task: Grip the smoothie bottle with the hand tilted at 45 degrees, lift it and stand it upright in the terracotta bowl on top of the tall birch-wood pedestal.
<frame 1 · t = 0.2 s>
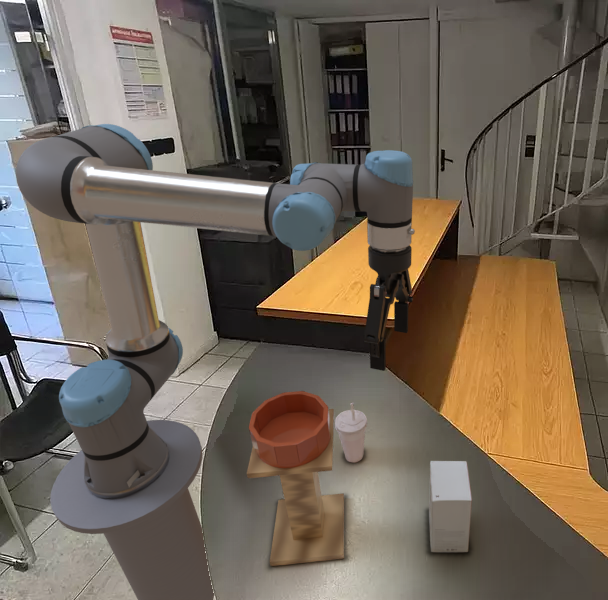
hand: (390, 348, 93), 23 cm above the table, tool pointing down, fingers open, 13 cm apart
pedestal: (309, 529, 85), on the table
smoothie: (354, 456, 99), on the table
small box: (447, 531, 84), on the table
bowl: (293, 438, 74), resting on pedestal
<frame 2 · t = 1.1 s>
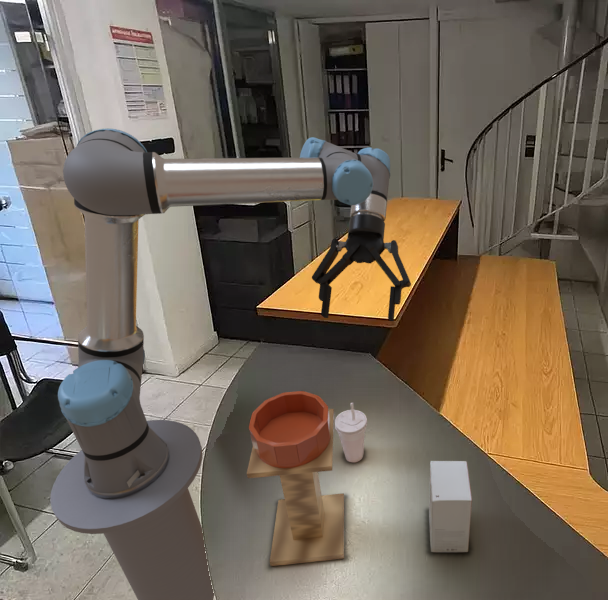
hand: (357, 318, 97), 26 cm above the table, tool tilted 45°, fingers open, 13 cm apart
nothing on the table moved.
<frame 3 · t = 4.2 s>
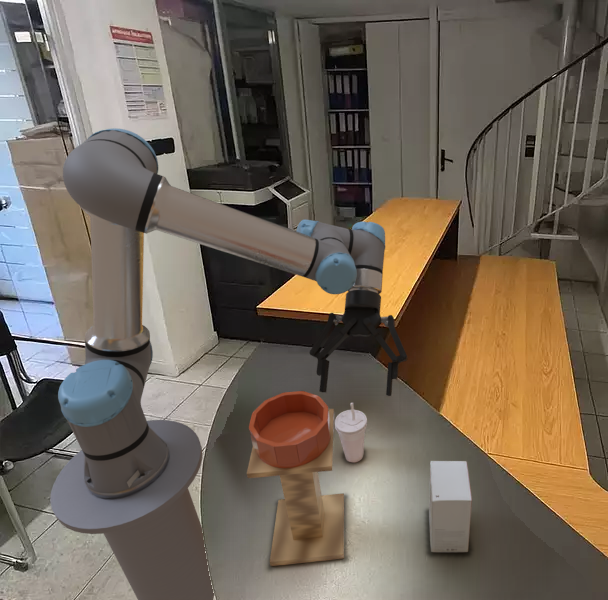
hand: (355, 394, 98), 12 cm above the table, tool tilted 45°, fingers open, 13 cm apart
nothing on the table moved.
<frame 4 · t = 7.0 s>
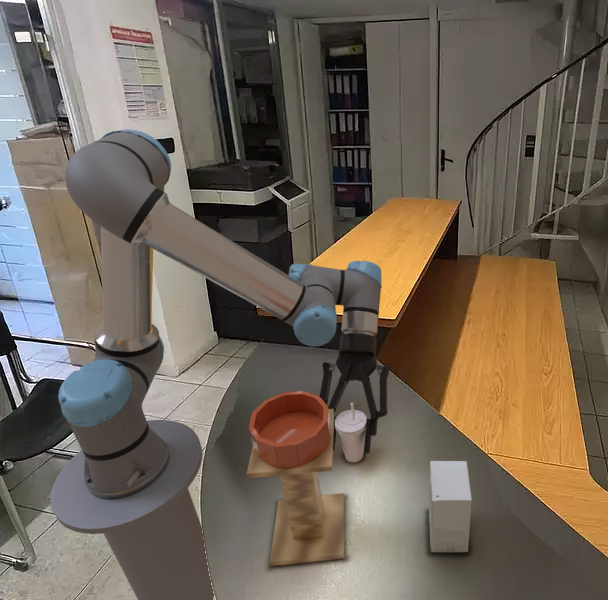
hand: (348, 452, 94), 5 cm above the table, tool tilted 45°, fingers closed on smoothie, 6 cm apart
smoothie: (354, 456, 99), on the table, touching gripper
everything else where it was.
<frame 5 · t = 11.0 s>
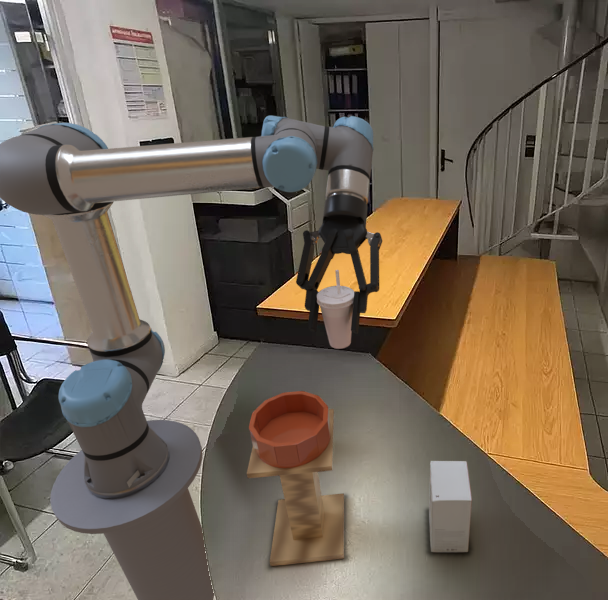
hand: (333, 330, 79), 33 cm above the table, tool tilted 45°, fingers closed on smoothie, 6 cm apart
smoothie: (340, 343, 85), point 28 cm above the table, touching gripper
everything else where it was.
when the fingers open (28 cm above the table, at t = 15.9 s): smoothie stays where it is, resting on bowl.
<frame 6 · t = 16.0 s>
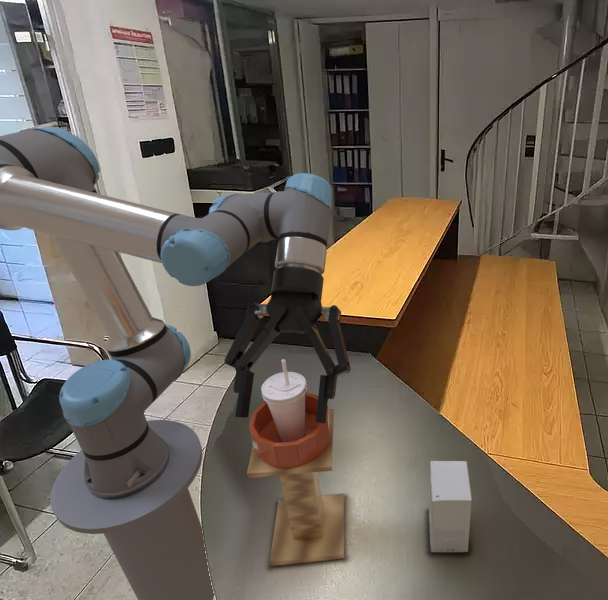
hand: (280, 420, 68), 29 cm above the table, tool tilted 45°, fingers open, 11 cm apart
smoothie: (292, 435, 74), point 23 cm above the table, touching bowl
everything else where it was.
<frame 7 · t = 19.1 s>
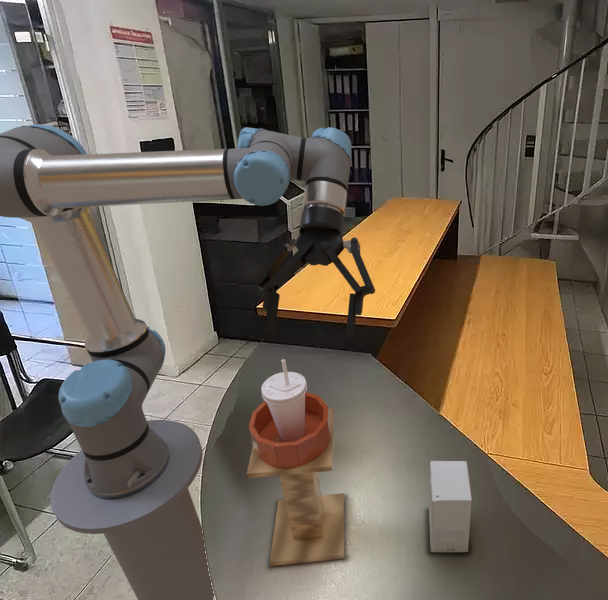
hand: (309, 332, 79), 33 cm above the table, tool tilted 45°, fingers open, 13 cm apart
nothing on the table moved.
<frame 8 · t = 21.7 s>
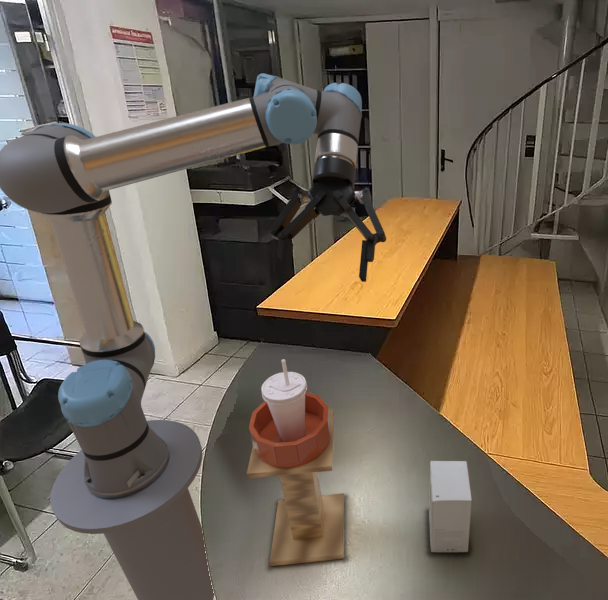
hand: (323, 278, 82), 40 cm above the table, tool tilted 45°, fingers open, 13 cm apart
nothing on the table moved.
at the end: smoothie 0.1 cm off-centre on the bowl, point 0.6 cm above the bowl's base; smoothie tilted 0°; the gripper is holding nothing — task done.
